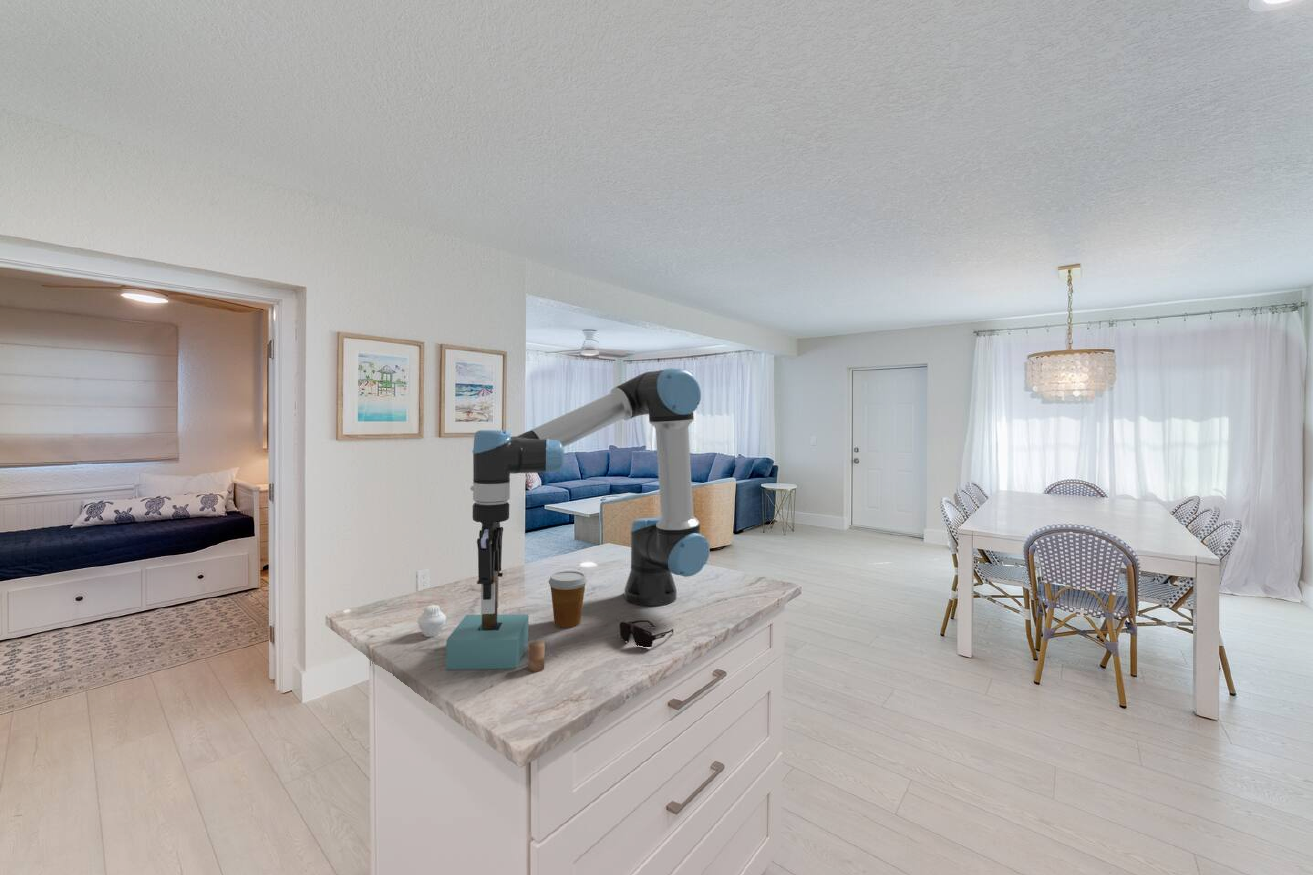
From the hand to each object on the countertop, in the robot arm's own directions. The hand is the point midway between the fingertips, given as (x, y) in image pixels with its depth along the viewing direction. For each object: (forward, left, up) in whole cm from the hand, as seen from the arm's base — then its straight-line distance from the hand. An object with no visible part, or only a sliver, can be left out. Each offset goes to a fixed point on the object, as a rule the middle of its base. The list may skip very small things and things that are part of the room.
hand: (489, 610), depth 113 cm
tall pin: (0, 0, -4) cm, 4 cm away
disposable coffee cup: (-15, -17, -10) cm, 25 cm away
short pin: (-11, +7, -10) cm, 16 cm away
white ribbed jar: (+16, -11, -10) cm, 22 cm away
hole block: (0, 0, -10) cm, 10 cm away
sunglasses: (-35, -8, -10) cm, 37 cm away
